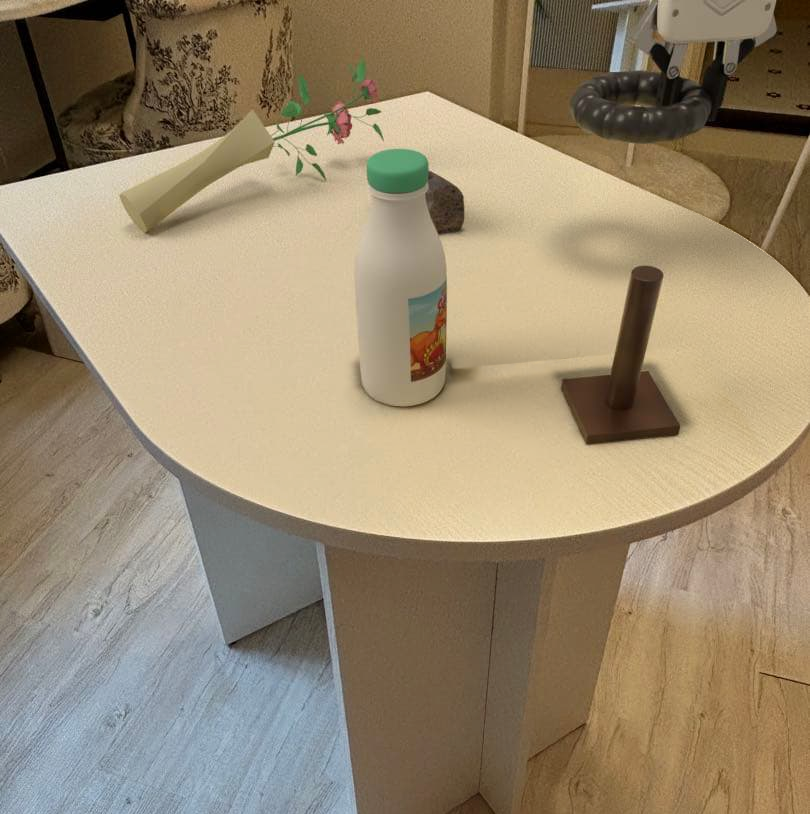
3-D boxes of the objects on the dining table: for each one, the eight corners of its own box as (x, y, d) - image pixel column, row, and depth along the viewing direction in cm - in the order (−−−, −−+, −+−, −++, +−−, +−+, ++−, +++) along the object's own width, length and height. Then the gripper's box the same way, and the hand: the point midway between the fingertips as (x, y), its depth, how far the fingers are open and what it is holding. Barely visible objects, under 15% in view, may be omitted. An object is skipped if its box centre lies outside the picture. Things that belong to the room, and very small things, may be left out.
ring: (678, 95, 82) (684, 62, 80) (727, 142, 73) (736, 107, 71) (554, 104, 81) (558, 71, 79) (590, 153, 73) (594, 118, 70)
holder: (646, 379, 73) (679, 243, 63) (678, 434, 67) (719, 295, 58) (560, 388, 72) (581, 252, 63) (586, 444, 67) (612, 305, 57)
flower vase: (157, 274, 103) (361, 141, 112) (191, 284, 94) (410, 138, 103) (102, 185, 96) (325, 51, 105) (132, 187, 86) (373, 40, 95)
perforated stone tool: (357, 210, 98) (353, 151, 92) (392, 198, 100) (390, 140, 95) (432, 256, 89) (432, 195, 84) (468, 243, 91) (470, 181, 86)
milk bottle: (381, 418, 70) (368, 188, 55) (349, 371, 74) (329, 149, 60) (460, 395, 72) (468, 168, 57) (423, 351, 76) (422, 131, 62)
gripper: (653, -112, 61) (614, 138, 75) (858, -125, 62) (783, 125, 76) (623, -127, 66) (592, 110, 80) (813, -138, 67) (751, 98, 81)
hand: (685, 115), depth 77 cm, fingers closed on ring, 3 cm apart
